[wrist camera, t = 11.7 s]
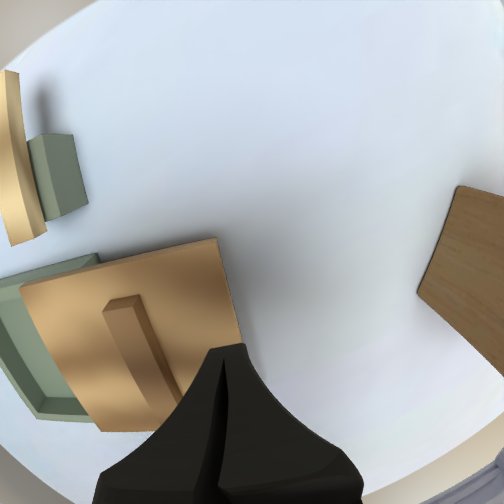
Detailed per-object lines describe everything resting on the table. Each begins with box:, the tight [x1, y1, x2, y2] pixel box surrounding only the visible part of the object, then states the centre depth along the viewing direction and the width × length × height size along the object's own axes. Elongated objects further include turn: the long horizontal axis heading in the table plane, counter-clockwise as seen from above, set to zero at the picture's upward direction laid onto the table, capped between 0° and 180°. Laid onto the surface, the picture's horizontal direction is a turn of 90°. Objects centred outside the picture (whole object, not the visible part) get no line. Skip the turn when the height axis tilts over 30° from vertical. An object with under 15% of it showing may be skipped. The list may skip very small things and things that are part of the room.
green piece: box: [0, 253, 101, 423], centre depth 21 cm, size 14×14×3 cm
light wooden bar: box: [0, 70, 47, 247], centre depth 12 cm, size 10×2×2 cm, turn 11°
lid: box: [18, 237, 243, 432], centre depth 18 cm, size 14×14×2 cm
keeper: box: [26, 134, 88, 222], centre depth 16 cm, size 5×4×4 cm
